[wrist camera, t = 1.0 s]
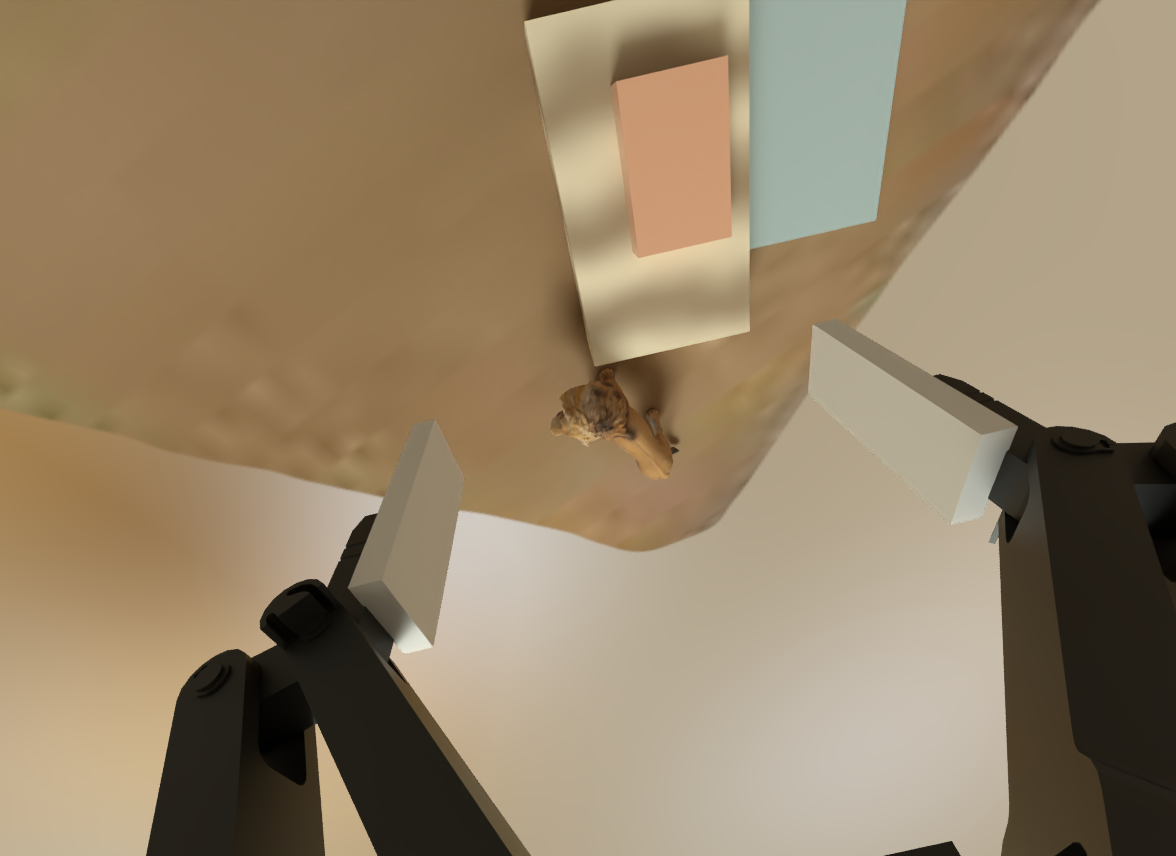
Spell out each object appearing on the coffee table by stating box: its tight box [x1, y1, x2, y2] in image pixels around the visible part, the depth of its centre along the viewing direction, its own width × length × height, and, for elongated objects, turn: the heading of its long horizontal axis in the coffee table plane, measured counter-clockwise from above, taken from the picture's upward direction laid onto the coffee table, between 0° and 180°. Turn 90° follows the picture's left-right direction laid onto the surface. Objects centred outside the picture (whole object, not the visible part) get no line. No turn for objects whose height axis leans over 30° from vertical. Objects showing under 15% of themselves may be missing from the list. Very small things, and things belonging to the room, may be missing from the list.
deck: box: [524, 0, 750, 367], centre depth 30 cm, size 20×12×4 cm, turn 11°
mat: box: [749, 0, 906, 249], centre depth 30 cm, size 16×11×1 cm
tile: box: [610, 55, 732, 258], centre depth 26 cm, size 9×6×2 cm, turn 11°
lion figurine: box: [550, 368, 679, 480], centre depth 37 cm, size 15×5×9 cm, turn 51°
